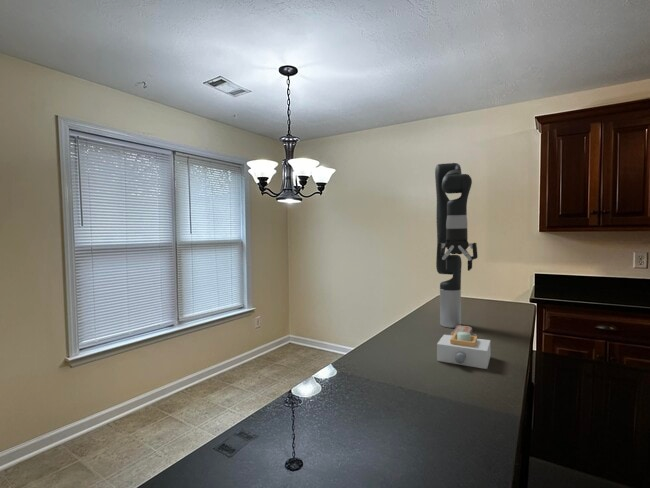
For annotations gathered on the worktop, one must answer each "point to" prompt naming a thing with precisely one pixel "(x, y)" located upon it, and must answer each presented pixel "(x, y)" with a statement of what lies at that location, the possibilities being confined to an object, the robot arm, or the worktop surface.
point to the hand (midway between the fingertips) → (457, 269)
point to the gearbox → (464, 351)
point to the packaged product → (463, 330)
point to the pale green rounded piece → (464, 336)
